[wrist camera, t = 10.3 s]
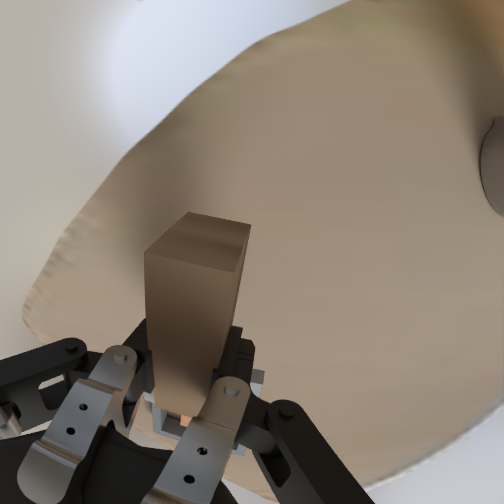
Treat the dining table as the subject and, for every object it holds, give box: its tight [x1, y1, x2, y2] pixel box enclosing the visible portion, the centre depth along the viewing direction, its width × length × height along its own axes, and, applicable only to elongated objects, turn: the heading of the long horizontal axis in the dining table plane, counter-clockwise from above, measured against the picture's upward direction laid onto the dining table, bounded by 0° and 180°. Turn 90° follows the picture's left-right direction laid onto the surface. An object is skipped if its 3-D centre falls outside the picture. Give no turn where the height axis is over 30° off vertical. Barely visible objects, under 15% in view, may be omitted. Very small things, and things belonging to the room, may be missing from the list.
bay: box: [152, 403, 247, 456], centre depth 26 cm, size 8×11×2 cm
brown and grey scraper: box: [143, 212, 264, 418], centre depth 12 cm, size 13×7×4 cm, turn 168°
